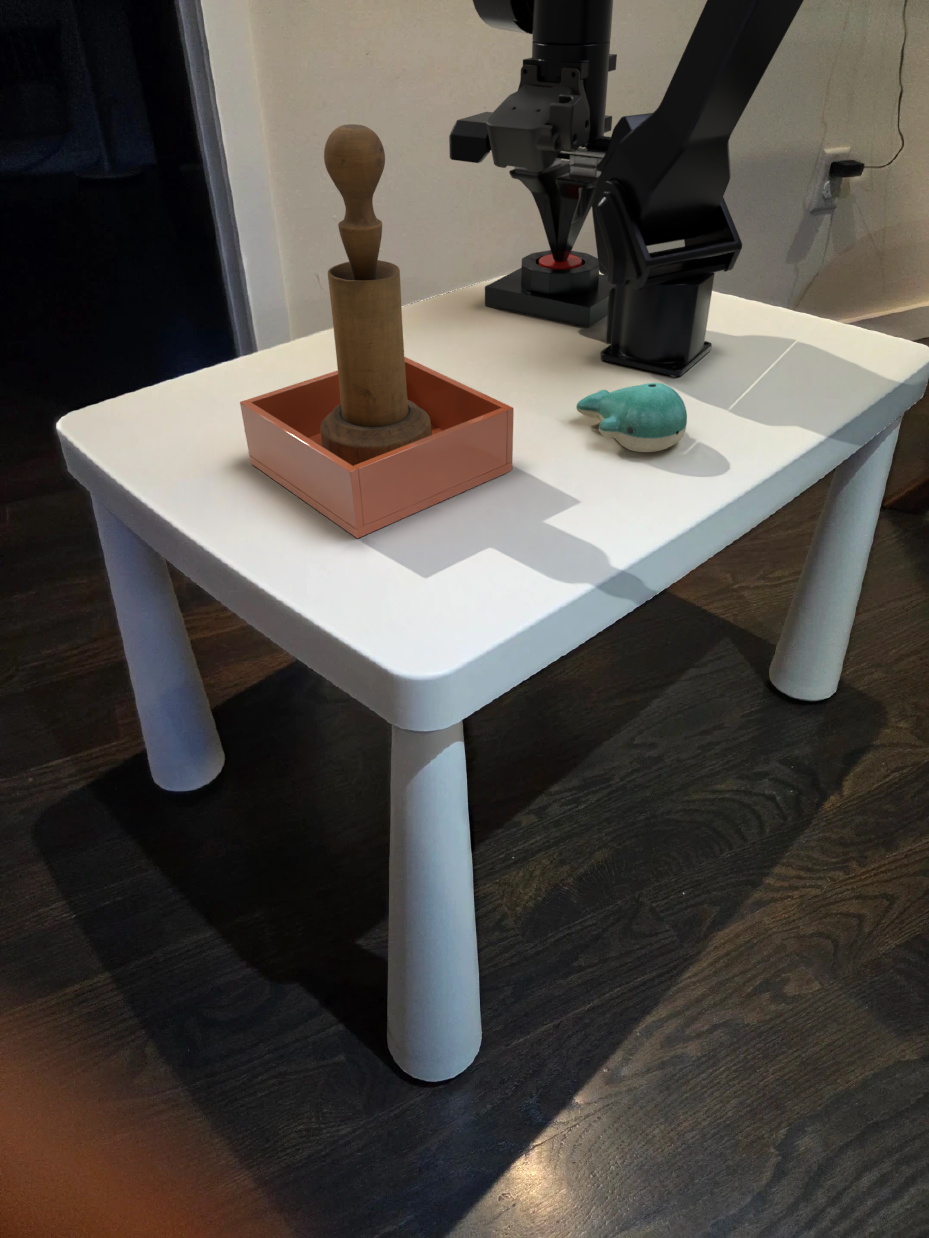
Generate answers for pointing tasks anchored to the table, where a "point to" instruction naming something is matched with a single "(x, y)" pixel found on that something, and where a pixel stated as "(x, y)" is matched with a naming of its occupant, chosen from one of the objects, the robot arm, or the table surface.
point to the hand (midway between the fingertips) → (560, 260)
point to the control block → (553, 291)
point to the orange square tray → (392, 482)
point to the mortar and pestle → (366, 315)
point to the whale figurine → (638, 416)
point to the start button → (567, 264)
